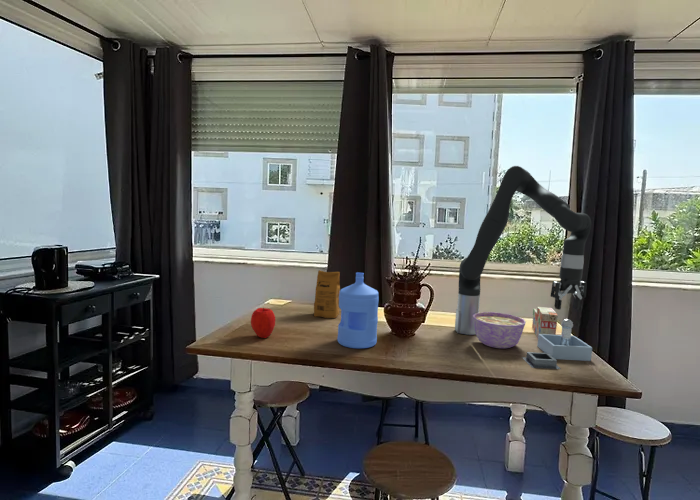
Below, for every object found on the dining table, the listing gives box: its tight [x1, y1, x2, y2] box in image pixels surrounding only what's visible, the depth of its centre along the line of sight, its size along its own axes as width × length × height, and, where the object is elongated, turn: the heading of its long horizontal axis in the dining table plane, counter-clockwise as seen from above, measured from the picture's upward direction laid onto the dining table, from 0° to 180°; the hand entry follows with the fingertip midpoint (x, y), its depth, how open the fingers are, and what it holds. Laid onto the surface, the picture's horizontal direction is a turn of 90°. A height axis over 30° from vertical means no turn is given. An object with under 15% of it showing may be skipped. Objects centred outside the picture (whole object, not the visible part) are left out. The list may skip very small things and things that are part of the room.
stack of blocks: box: [531, 306, 559, 339], centre depth 191 cm, size 21×6×12 cm, turn 165°
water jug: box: [337, 271, 379, 350], centre depth 169 cm, size 16×16×28 cm
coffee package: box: [313, 269, 341, 319], centre depth 208 cm, size 10×12×22 cm
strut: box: [560, 318, 574, 346], centre depth 163 cm, size 4×4×14 cm
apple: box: [250, 307, 276, 339], centre depth 173 cm, size 10×10×12 cm
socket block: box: [521, 351, 562, 370], centre depth 153 cm, size 10×10×4 cm
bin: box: [536, 334, 593, 362], centre depth 165 cm, size 14×14×6 cm
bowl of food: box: [473, 311, 527, 349], centre depth 172 cm, size 20×20×12 cm
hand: (566, 308), depth 162 cm, fingers open, 8 cm apart
